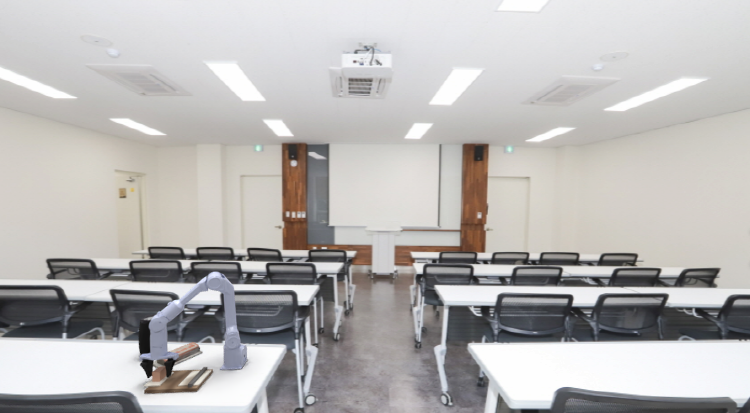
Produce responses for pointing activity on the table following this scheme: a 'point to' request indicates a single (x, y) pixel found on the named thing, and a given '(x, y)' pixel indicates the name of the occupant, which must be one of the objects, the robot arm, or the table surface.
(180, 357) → the packaged product
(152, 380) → the stub
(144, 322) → the portable speaker
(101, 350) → the table surface
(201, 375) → the board
